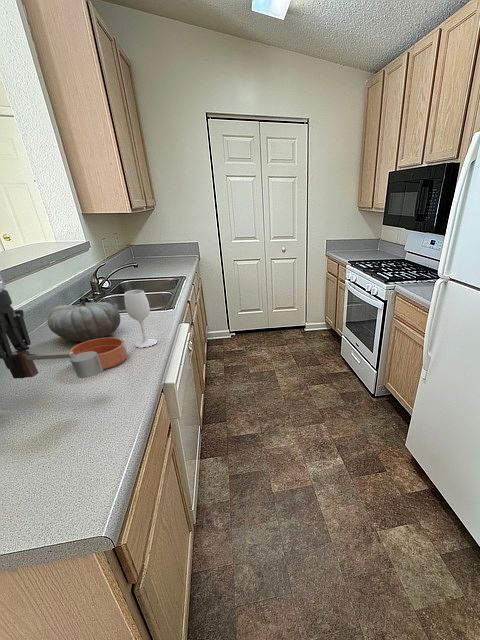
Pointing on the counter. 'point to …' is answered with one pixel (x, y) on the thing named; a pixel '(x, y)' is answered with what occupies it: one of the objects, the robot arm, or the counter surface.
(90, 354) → the ladle
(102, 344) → the bowl
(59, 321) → the gourd
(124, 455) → the counter surface
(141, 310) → the wineglass
